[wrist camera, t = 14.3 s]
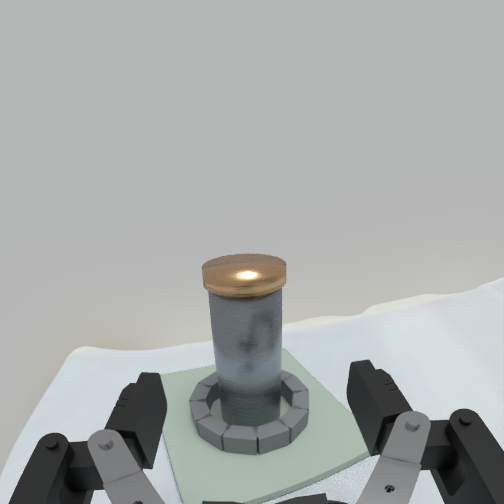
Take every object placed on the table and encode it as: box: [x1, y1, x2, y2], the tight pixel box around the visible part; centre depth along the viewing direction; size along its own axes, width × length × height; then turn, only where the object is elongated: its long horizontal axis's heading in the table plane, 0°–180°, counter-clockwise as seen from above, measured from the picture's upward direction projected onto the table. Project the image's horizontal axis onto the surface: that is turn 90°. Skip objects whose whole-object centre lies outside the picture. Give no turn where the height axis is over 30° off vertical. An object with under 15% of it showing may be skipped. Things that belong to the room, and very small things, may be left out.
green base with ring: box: [160, 348, 370, 504], centre depth 25 cm, size 16×18×3 cm
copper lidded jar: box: [202, 254, 286, 427], centre depth 23 cm, size 6×6×14 cm
